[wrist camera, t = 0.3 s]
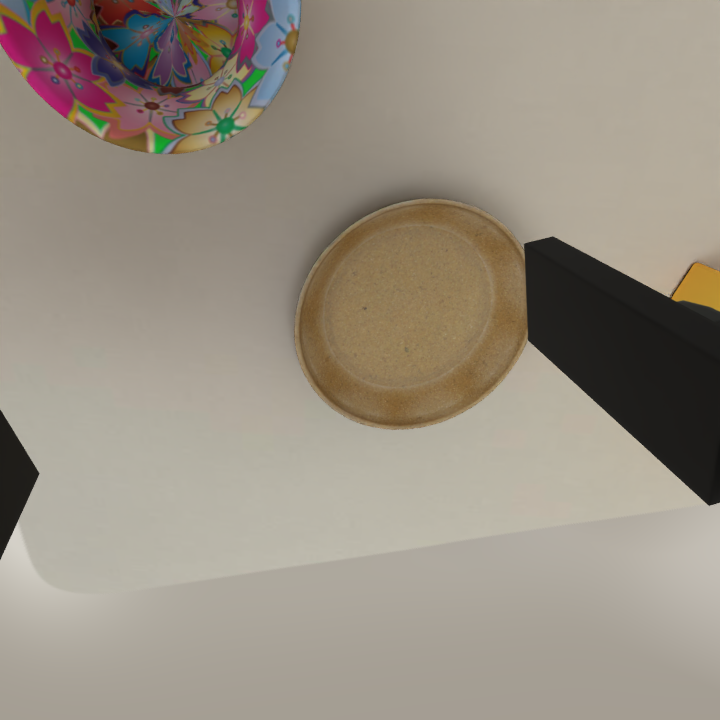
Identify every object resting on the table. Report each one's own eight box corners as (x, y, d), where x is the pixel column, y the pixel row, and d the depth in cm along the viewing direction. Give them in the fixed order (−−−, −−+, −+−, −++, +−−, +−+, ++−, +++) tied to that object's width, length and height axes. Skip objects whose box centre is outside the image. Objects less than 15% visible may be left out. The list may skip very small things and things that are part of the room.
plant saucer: (530, 365, 39) (549, 383, 37) (332, 438, 39) (339, 461, 37) (497, 153, 32) (518, 160, 30) (253, 240, 31) (255, 253, 29)
